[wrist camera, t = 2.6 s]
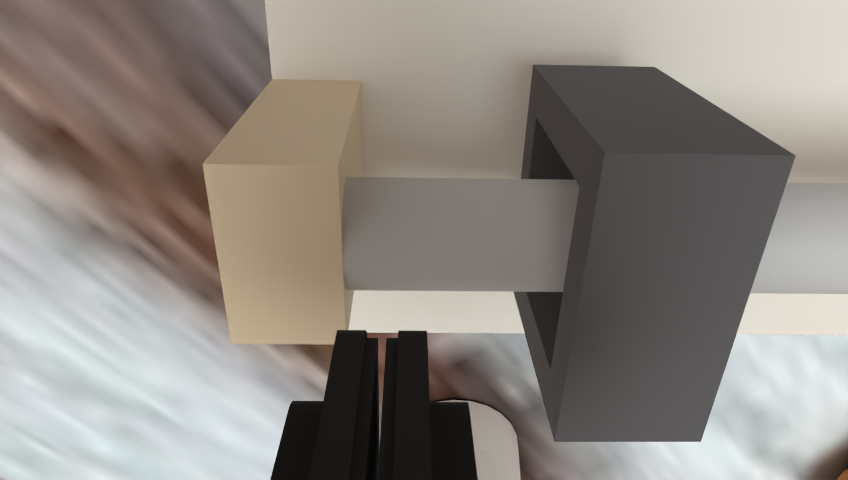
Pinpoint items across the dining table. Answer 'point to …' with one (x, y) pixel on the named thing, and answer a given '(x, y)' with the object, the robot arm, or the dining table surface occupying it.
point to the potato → (844, 475)
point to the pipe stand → (498, 158)
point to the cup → (493, 443)
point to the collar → (644, 249)
